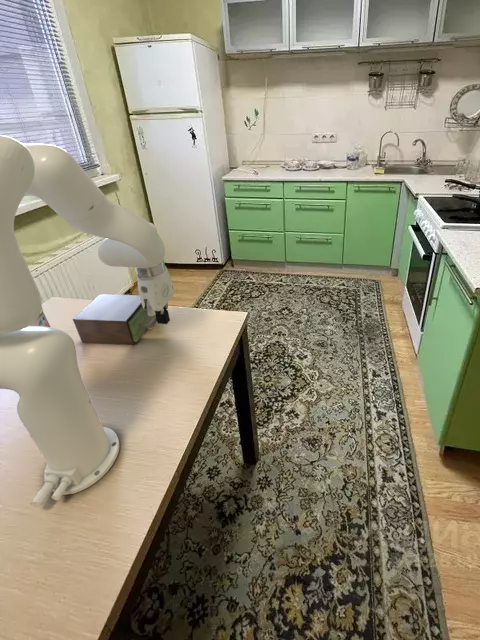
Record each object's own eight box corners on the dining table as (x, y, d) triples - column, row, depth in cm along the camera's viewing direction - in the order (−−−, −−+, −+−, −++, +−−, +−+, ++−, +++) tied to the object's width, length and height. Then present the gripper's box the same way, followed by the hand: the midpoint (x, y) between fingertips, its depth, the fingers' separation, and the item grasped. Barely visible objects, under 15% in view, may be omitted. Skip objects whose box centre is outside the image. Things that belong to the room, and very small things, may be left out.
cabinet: (153, 317, 103) (147, 295, 99) (133, 345, 92) (125, 321, 88) (107, 316, 105) (100, 294, 101) (82, 343, 94) (72, 319, 90)
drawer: (168, 317, 102) (164, 299, 99) (151, 342, 92) (146, 323, 89) (112, 315, 104) (106, 297, 100) (90, 339, 93) (82, 320, 90)
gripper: (148, 283, 80) (163, 340, 88) (175, 255, 93) (186, 308, 101) (121, 281, 81) (138, 338, 89) (151, 254, 94) (164, 306, 102)
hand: (163, 322), depth 95 cm, fingers closed
